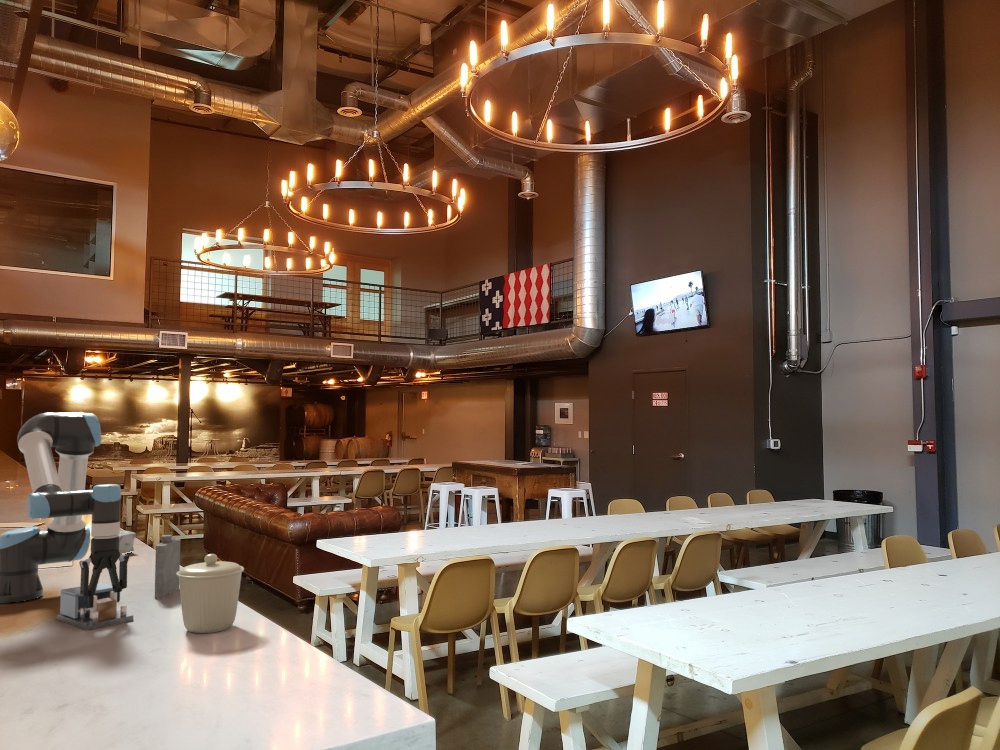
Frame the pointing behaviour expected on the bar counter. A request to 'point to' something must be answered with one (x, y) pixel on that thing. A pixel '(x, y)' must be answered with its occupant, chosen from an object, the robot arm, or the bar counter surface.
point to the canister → (209, 594)
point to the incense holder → (126, 541)
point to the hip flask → (167, 566)
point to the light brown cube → (106, 608)
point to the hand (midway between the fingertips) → (103, 616)
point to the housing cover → (80, 599)
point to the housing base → (89, 621)
